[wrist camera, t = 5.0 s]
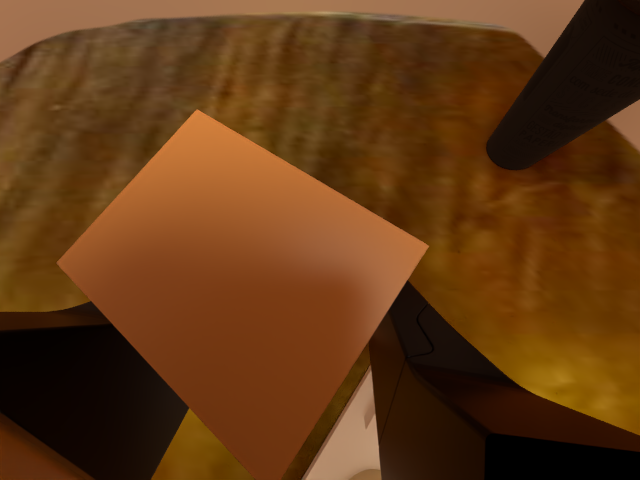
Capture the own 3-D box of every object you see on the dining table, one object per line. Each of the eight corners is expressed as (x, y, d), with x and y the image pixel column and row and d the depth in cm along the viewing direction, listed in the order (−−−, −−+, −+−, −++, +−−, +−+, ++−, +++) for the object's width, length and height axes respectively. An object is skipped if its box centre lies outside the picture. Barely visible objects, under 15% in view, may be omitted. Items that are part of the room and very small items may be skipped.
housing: (412, 638, 16) (442, 797, 11) (285, 506, 18) (261, 582, 13) (528, 395, 18) (596, 430, 13) (402, 311, 21) (419, 314, 16)
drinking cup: (506, 196, 22) (1435, -429, 3) (455, 140, 25) (832, -430, 5) (573, 158, 23) (1831, -648, 3) (517, 106, 25) (1092, -565, 6)
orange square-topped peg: (334, 342, 15) (240, 588, 2) (284, 302, 17) (10, 296, 3) (370, 287, 16) (475, 207, 3) (320, 252, 17) (216, 74, 4)
